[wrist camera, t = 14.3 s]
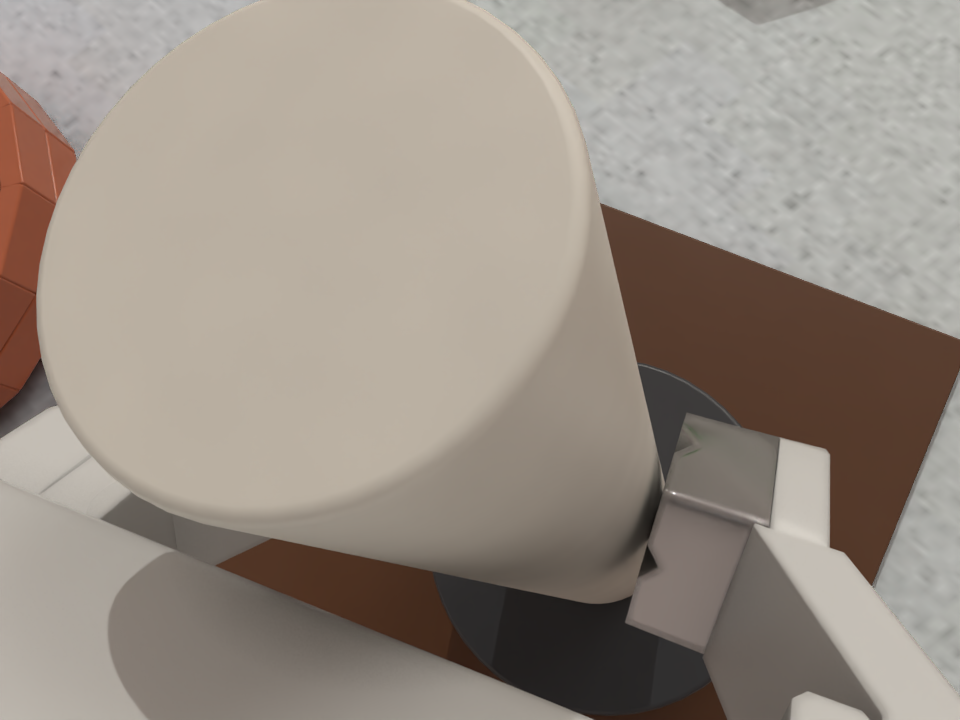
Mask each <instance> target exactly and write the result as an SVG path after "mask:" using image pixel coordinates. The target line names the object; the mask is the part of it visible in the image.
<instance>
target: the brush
mask: <svg viewBox="0 0 960 720" xmlns="http://www.w3.org/2000/svg"><path fill="white" fill-rule="evenodd" d="M36 308H37V332H38V339H39V346H40V352H41V359H42V363H43V366H44V369H45V373H46V376H47V379H48V383H49V386H50V389H51V392H52V394H53V396H54V398H55V400H56V402H57V405H58V407H59V409H60V411H61V413H62V415H63V417H64V419H65V421H66V422H67V424H68V425H69V427H70V428H71V430H72V431H73V433H74V434H75V435H76V437H77V438H78V440H79V441H80V443H81V444H82V446H83V447H84V448H85V449H86V451H87V452H88V453H89V454H90V455H91V456H92V457H93V458H94V459H95V460H96V461H97V463H98V464H99V465H100V466H101V467H102V468H103V469H104V470H105V471H106V472H107V473H108V474H109V475H110V476H111V477H112V478H114V479H115V480H116V481H118V482H119V483H120V484H122V485H123V486H124V487H126V488H127V489H128V490H130V491H131V492H132V493H134V494H135V495H136V496H138V497H139V498H141V499H143V500H145V501H147V502H149V503H151V504H153V505H155V506H157V507H159V508H161V509H163V510H164V511H166V512H168V513H171V514H174V515H177V516H181V517H184V518H187V519H190V520H193V521H196V522H199V523H202V524H206V525H211V526H216V527H221V528H226V529H230V530H235V531H240V532H245V533H250V534H255V535H259V536H264V537H269V538H274V539H279V540H283V541H288V542H293V543H298V544H303V545H308V546H312V547H317V548H322V549H327V550H332V551H336V552H341V553H346V554H351V555H356V556H361V557H365V558H370V559H375V560H380V561H385V562H389V563H394V564H399V565H404V566H409V567H414V568H418V569H423V570H428V571H432V572H433V577H434V581H435V584H436V587H437V590H438V593H439V596H440V599H441V602H442V604H443V606H444V608H445V610H446V613H447V615H448V617H449V619H450V621H451V623H452V624H453V626H454V628H455V629H456V631H457V632H458V634H459V635H460V637H461V638H462V640H463V642H464V643H465V644H466V645H467V647H468V648H469V649H470V650H471V651H472V652H473V654H474V655H475V656H476V657H477V658H478V660H479V661H480V662H482V663H483V664H484V665H485V666H486V667H487V668H488V669H489V670H490V671H491V672H492V673H493V674H495V675H496V676H497V677H498V678H500V679H501V680H503V681H504V682H505V683H507V684H508V685H511V686H513V687H516V688H518V689H520V690H523V691H525V692H528V693H530V694H533V695H535V696H538V697H540V698H543V699H545V700H547V701H550V702H552V703H555V704H557V705H560V706H562V707H565V708H567V709H570V710H572V711H574V712H577V713H580V714H585V715H601V716H617V715H629V714H637V713H642V712H646V711H650V710H655V709H659V708H662V707H664V706H667V705H669V704H672V703H675V702H677V701H680V700H682V699H684V698H686V697H688V696H689V695H691V694H693V693H695V692H697V691H698V690H700V689H702V688H704V687H705V686H706V685H708V684H709V683H710V682H712V680H711V678H710V675H709V673H708V670H707V668H706V665H705V663H704V660H703V658H702V657H703V655H704V654H702V653H699V652H697V651H694V650H692V649H689V648H687V647H684V646H682V645H679V644H677V643H674V642H671V641H669V640H666V639H664V638H661V637H659V636H656V635H654V634H651V633H649V632H646V631H644V630H641V629H639V628H636V627H634V626H631V625H629V624H626V623H625V621H626V617H627V614H628V610H629V606H630V603H631V599H632V596H633V592H634V589H635V585H636V581H637V578H638V574H639V571H640V567H641V564H642V560H643V557H644V553H645V550H646V546H647V543H648V539H649V536H650V533H651V530H652V526H653V523H654V519H655V516H656V512H657V509H658V505H659V502H660V499H661V495H662V492H663V489H664V486H665V482H666V479H667V475H668V471H669V468H670V465H671V462H672V458H673V455H674V452H675V448H676V445H677V442H678V439H679V435H680V432H681V429H682V426H683V422H684V419H685V416H686V413H690V414H694V415H698V416H701V417H705V418H709V419H713V420H716V421H720V422H724V423H728V424H731V425H735V426H739V427H742V426H741V425H740V424H739V423H738V422H737V421H736V419H735V418H734V417H733V416H732V415H731V414H730V413H729V412H728V411H727V410H726V409H725V408H724V407H723V406H722V405H721V404H720V403H718V402H717V401H716V400H715V399H714V398H712V397H711V396H710V395H709V394H708V393H706V392H705V391H703V390H702V389H700V388H699V387H697V386H695V385H694V384H692V383H691V382H689V381H687V380H685V379H683V378H681V377H679V376H677V375H675V374H673V373H671V372H669V371H666V370H663V369H660V368H657V367H654V366H651V365H648V364H644V363H639V362H637V361H636V357H635V352H634V348H633V344H632V340H631V335H630V331H629V327H628V322H627V318H626V314H625V309H624V305H623V301H622V296H621V292H620V288H619V283H618V279H617V275H616V270H615V266H614V262H613V258H612V253H611V249H610V245H609V240H608V236H607V232H606V227H605V223H604V219H603V214H602V210H601V206H600V201H599V197H598V193H597V188H596V184H595V180H594V176H593V171H592V167H591V163H590V158H589V154H588V150H587V145H586V142H585V139H584V136H583V133H582V130H581V127H580V124H579V121H578V118H577V115H576V112H575V110H574V108H573V106H572V104H571V102H570V100H569V98H568V96H567V94H566V92H565V90H564V89H563V87H562V85H561V83H560V81H559V80H558V78H557V77H556V76H555V74H554V73H553V72H552V70H551V69H550V68H549V66H548V65H547V64H546V62H545V61H544V60H543V58H542V57H541V56H540V55H539V54H538V53H537V52H536V51H535V50H534V49H533V48H532V47H531V46H530V45H529V44H528V43H527V42H526V41H525V40H524V39H523V38H522V37H521V36H520V35H519V34H518V33H516V32H515V31H514V30H513V29H511V28H510V27H509V26H507V25H506V24H504V23H503V22H501V21H500V20H499V19H497V18H496V17H494V16H493V15H491V14H490V13H489V12H487V11H486V10H484V9H482V8H480V7H478V6H476V5H474V4H472V3H470V2H468V1H466V0H260V1H258V2H256V3H253V4H251V5H248V6H246V7H243V8H241V9H239V10H237V11H235V12H233V13H231V14H229V15H227V16H225V17H223V18H221V19H220V20H218V21H216V22H214V23H212V24H210V25H208V26H207V27H205V28H204V29H202V30H201V31H199V32H198V33H196V34H195V35H193V36H192V37H190V38H189V39H187V40H185V41H184V42H182V43H181V44H180V45H178V46H177V47H176V48H175V49H173V50H172V51H171V52H170V53H168V54H167V55H166V56H165V57H163V58H162V59H161V60H160V61H158V62H157V63H156V64H155V65H154V66H152V67H151V68H150V69H149V70H148V71H147V72H146V73H145V74H144V75H143V76H142V77H141V78H140V79H139V80H138V81H137V82H136V83H135V84H134V85H133V86H132V87H130V89H129V90H128V91H127V92H126V93H125V94H124V96H123V97H122V98H121V99H120V100H119V101H118V102H117V104H116V105H115V106H114V107H113V108H112V109H111V110H110V112H109V113H108V114H107V115H106V117H105V118H104V120H103V121H102V122H101V124H100V125H99V127H98V128H97V129H96V131H95V132H94V133H93V135H92V136H91V138H90V139H89V140H88V142H87V144H86V146H85V147H84V149H83V151H82V152H81V154H80V156H79V158H78V159H77V161H76V163H75V164H74V166H73V168H72V170H71V172H70V174H69V176H68V178H67V180H66V183H65V185H64V187H63V189H62V191H61V193H60V196H59V198H58V200H57V203H56V206H55V209H54V212H53V215H52V218H51V221H50V223H49V226H48V229H47V233H46V237H45V242H44V246H43V251H42V255H41V260H40V265H39V275H38V284H37V294H36Z"/></svg>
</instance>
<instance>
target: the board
mask: <svg viewBox="0 0 960 720" xmlns="http://www.w3.org/2000/svg"><path fill="white" fill-rule="evenodd" d="M600 206H601V210H602V214H603V219H604V223H605V227H606V232H607V236H608V240H609V245H610V249H611V253H612V258H613V262H614V266H615V270H616V275H617V279H618V283H619V288H620V292H621V296H622V301H623V305H624V309H625V314H626V318H627V322H628V327H629V331H630V335H631V340H632V344H633V348H634V352H635V357H636V361H637V362H639V363H644V364H648V365H651V366H654V367H657V368H660V369H663V370H666V371H669V372H671V373H673V374H675V375H677V376H679V377H681V378H683V379H685V380H687V381H689V382H691V383H692V384H694V385H695V386H697V387H699V388H700V389H702V390H703V391H705V392H706V393H708V394H709V395H710V396H711V397H712V398H714V399H715V400H716V401H717V402H718V403H720V404H721V405H722V406H723V407H724V408H725V409H726V410H727V411H728V412H729V413H730V414H731V415H732V416H733V417H734V418H735V419H736V421H737V422H738V423H739V424H740V425H741V426H742V427H743V428H746V429H750V430H754V431H758V432H761V433H765V434H769V435H773V436H776V437H781V438H785V439H789V440H793V441H797V442H801V443H805V444H809V445H812V446H816V447H820V448H824V449H826V450H827V451H828V452H829V454H830V548H832V549H835V550H838V551H841V552H844V553H845V554H846V555H847V556H848V558H849V559H850V560H851V561H852V563H853V564H854V565H855V566H856V568H857V569H858V570H859V571H860V573H861V574H862V575H863V576H864V578H865V579H866V580H867V581H868V582H869V584H870V585H871V586H872V584H873V581H874V579H875V577H876V574H877V572H878V569H879V567H880V564H881V562H882V559H883V557H884V554H885V552H886V549H887V547H888V545H889V542H890V540H891V537H892V535H893V532H894V530H895V527H896V525H897V522H898V520H899V517H900V515H901V513H902V510H903V508H904V505H905V503H906V500H907V498H908V495H909V493H910V490H911V488H912V485H913V483H914V481H915V478H916V476H917V473H918V471H919V468H920V466H921V463H922V461H923V458H924V456H925V453H926V451H927V448H928V446H929V444H930V441H931V439H932V436H933V434H934V431H935V429H936V426H937V424H938V421H939V419H940V416H941V414H942V412H943V409H944V407H945V404H946V402H947V399H948V397H949V394H950V392H951V389H952V387H953V384H954V382H955V380H956V377H957V375H958V372H959V370H960V339H957V338H955V337H952V336H949V335H947V334H944V333H942V332H939V331H936V330H934V329H931V328H928V327H926V326H923V325H920V324H918V323H915V322H913V321H910V320H907V319H905V318H902V317H899V316H897V315H894V314H891V313H889V312H886V311H884V310H881V309H878V308H876V307H873V306H870V305H868V304H865V303H862V302H860V301H857V300H854V299H852V298H849V297H847V296H844V295H841V294H839V293H836V292H833V291H831V290H828V289H825V288H823V287H820V286H818V285H815V284H812V283H810V282H807V281H804V280H802V279H799V278H796V277H794V276H791V275H789V274H786V273H783V272H781V271H778V270H775V269H773V268H770V267H767V266H765V265H762V264H760V263H757V262H754V261H752V260H749V259H746V258H744V257H741V256H738V255H736V254H733V253H730V252H728V251H725V250H723V249H720V248H717V247H715V246H712V245H709V244H707V243H704V242H701V241H699V240H696V239H694V238H691V237H688V236H686V235H683V234H680V233H678V232H675V231H672V230H670V229H667V228H665V227H662V226H659V225H657V224H654V223H651V222H649V221H646V220H643V219H641V218H638V217H636V216H633V215H630V214H628V213H625V212H622V211H620V210H617V209H614V208H612V207H609V206H606V205H604V204H601V203H600ZM215 566H217V567H219V568H222V569H224V570H226V571H229V572H231V573H234V574H236V575H239V576H241V577H244V578H246V579H249V580H251V581H254V582H256V583H259V584H261V585H264V586H266V587H268V588H271V589H273V590H276V591H278V592H281V593H283V594H286V595H288V596H291V597H293V598H296V599H298V600H301V601H303V602H306V603H308V604H311V605H313V606H315V607H318V608H320V609H323V610H325V611H328V612H330V613H333V614H335V615H338V616H340V617H343V618H345V619H348V620H350V621H353V622H355V623H358V624H360V625H362V626H365V627H367V628H370V629H372V630H375V631H377V632H380V633H382V634H385V635H387V636H390V637H392V638H395V639H397V640H400V641H402V642H405V643H407V644H409V645H412V646H414V647H417V648H419V649H422V650H424V651H427V652H429V653H432V654H434V655H437V656H439V657H442V658H444V659H447V660H449V661H452V662H454V663H456V664H459V665H461V666H464V667H466V668H469V669H471V670H474V671H476V672H479V673H481V674H484V675H486V676H489V677H491V678H494V679H496V680H498V681H501V682H503V683H505V682H504V681H503V680H501V679H500V678H498V677H497V676H496V675H495V674H493V673H492V672H491V671H490V670H489V669H488V668H487V667H486V666H485V665H484V664H483V663H482V662H480V661H479V660H478V658H477V657H476V656H475V655H474V654H473V652H472V651H471V650H470V649H469V648H468V647H467V645H466V644H465V643H464V642H463V640H462V638H461V637H460V635H459V634H458V632H457V631H456V629H455V628H454V626H453V624H452V623H451V621H450V619H449V617H448V615H447V613H446V610H445V608H444V606H443V604H442V602H441V599H440V596H439V593H438V590H437V587H436V584H435V581H434V577H433V572H432V571H428V570H423V569H418V568H414V567H409V566H404V565H399V564H394V563H389V562H385V561H380V560H375V559H370V558H365V557H361V556H356V555H351V554H346V553H341V552H336V551H332V550H327V549H322V548H317V547H312V546H308V545H303V544H298V543H293V542H288V541H283V540H279V539H274V538H271V539H269V540H267V541H265V542H263V543H261V544H259V545H257V546H255V547H253V548H251V549H248V550H246V551H244V552H242V553H240V554H238V555H236V556H234V557H232V558H230V559H228V560H226V561H223V562H221V563H219V564H217V565H215ZM506 684H507V683H506ZM579 714H580V713H579ZM582 715H584V716H587V717H589V718H592V719H594V720H727V718H726V715H725V713H724V710H723V708H722V705H721V703H720V700H719V698H718V695H717V693H716V690H715V688H714V685H713V683H712V682H710V683H709V684H708V685H706V686H705V687H704V688H702V689H700V690H698V691H697V692H695V693H693V694H691V695H689V696H688V697H686V698H684V699H682V700H680V701H677V702H675V703H672V704H669V705H667V706H664V707H662V708H659V709H655V710H650V711H646V712H642V713H637V714H629V715H617V716H601V715H585V714H582Z"/></svg>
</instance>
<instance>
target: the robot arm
mask: <svg viewBox="0 0 960 720" xmlns="http://www.w3.org/2000/svg"><path fill="white" fill-rule="evenodd" d="M269 539H271V538H269V537H264V536H259V535H255V534H250V533H245V532H240V531H235V530H230V529H226V528H221V527H216V526H211V525H206V524H202V523H199V522H196V521H193V520H190V519H187V518H184V517H181V516H177V515H174V514H171V513H168V512H166V511H164V510H163V509H161V508H159V507H157V506H155V505H153V504H151V503H149V502H147V501H145V500H143V499H141V498H139V497H138V496H136V495H135V494H134V493H132V492H131V491H130V490H128V489H127V488H126V487H124V486H123V485H122V484H120V483H119V482H118V481H116V480H115V479H114V478H112V477H111V476H110V475H109V474H108V473H107V472H106V471H105V470H104V469H103V468H102V467H101V466H100V465H99V464H98V463H97V461H96V460H95V459H94V458H93V457H92V456H91V455H90V454H89V453H88V452H87V451H86V449H85V448H84V447H83V446H82V444H81V443H80V441H79V440H78V438H77V437H76V435H75V434H74V433H73V431H72V430H71V428H70V427H69V425H68V424H67V422H66V421H65V419H64V417H63V415H62V413H61V411H60V409H59V407H58V406H54V407H49V408H47V409H46V410H44V411H43V412H41V413H40V414H38V415H36V416H35V417H33V418H32V419H30V420H29V421H27V422H25V423H24V424H22V425H21V426H19V427H18V428H16V429H15V430H13V431H11V432H10V433H8V434H7V435H5V436H4V437H2V438H0V720H594V719H592V718H589V717H587V716H584V715H582V714H579V713H577V712H574V711H572V710H570V709H567V708H565V707H562V706H560V705H557V704H555V703H552V702H550V701H547V700H545V699H543V698H540V697H538V696H535V695H533V694H530V693H528V692H525V691H523V690H520V689H518V688H516V687H513V686H511V685H508V684H506V683H503V682H501V681H498V680H496V679H494V678H491V677H489V676H486V675H484V674H481V673H479V672H476V671H474V670H471V669H469V668H466V667H464V666H461V665H459V664H456V663H454V662H452V661H449V660H447V659H444V658H442V657H439V656H437V655H434V654H432V653H429V652H427V651H424V650H422V649H419V648H417V647H414V646H412V645H409V644H407V643H405V642H402V641H400V640H397V639H395V638H392V637H390V636H387V635H385V634H382V633H380V632H377V631H375V630H372V629H370V628H367V627H365V626H362V625H360V624H358V623H355V622H353V621H350V620H348V619H345V618H343V617H340V616H338V615H335V614H333V613H330V612H328V611H325V610H323V609H320V608H318V607H315V606H313V605H311V604H308V603H306V602H303V601H301V600H298V599H296V598H293V597H291V596H288V595H286V594H283V593H281V592H278V591H276V590H273V589H271V588H268V587H266V586H264V585H261V584H259V583H256V582H254V581H251V580H249V579H246V578H244V577H241V576H239V575H236V574H234V573H231V572H229V571H226V570H224V569H222V568H219V567H217V566H215V565H217V564H219V563H221V562H223V561H226V560H228V559H230V558H232V557H234V556H236V555H238V554H240V553H242V552H244V551H246V550H248V549H251V548H253V547H255V546H257V545H259V544H261V543H263V542H265V541H267V540H269ZM625 623H626V624H629V625H631V626H634V627H636V628H639V629H641V630H644V631H646V632H649V633H651V634H654V635H656V636H659V637H661V638H664V639H666V640H669V641H671V642H674V643H677V644H679V645H682V646H684V647H687V648H689V649H692V650H694V651H697V652H699V653H702V654H704V655H703V657H702V658H703V660H704V663H705V665H706V668H707V670H708V673H709V675H710V678H711V680H712V683H713V685H714V688H715V690H716V693H717V695H718V698H719V700H720V703H721V705H722V708H723V710H724V713H725V715H726V718H727V720H960V695H959V694H958V693H957V691H956V690H955V689H954V688H953V686H952V685H951V684H950V683H949V682H948V680H947V679H946V678H945V677H944V675H943V674H942V673H941V672H940V670H939V669H938V668H937V667H936V665H935V664H934V663H933V662H932V660H931V659H930V658H929V657H928V656H927V654H926V653H925V652H924V651H923V649H922V648H921V647H920V646H919V644H918V643H917V642H916V641H915V639H914V638H913V637H912V636H911V634H910V633H909V632H908V631H907V630H906V628H905V627H904V626H903V625H902V623H901V622H900V621H899V620H898V618H897V617H896V616H895V615H894V613H893V612H892V611H891V610H890V608H889V607H888V606H887V605H886V604H885V602H884V601H883V600H882V599H881V597H880V596H879V595H878V594H877V592H876V591H875V590H874V589H873V587H872V586H871V585H870V584H869V582H868V581H867V580H866V579H865V578H864V576H863V575H862V574H861V573H860V571H859V570H858V569H857V568H856V566H855V565H854V564H853V563H852V561H851V560H850V559H849V558H848V556H847V555H846V554H845V553H844V552H841V551H838V550H835V549H832V548H830V454H829V452H828V451H827V450H826V449H824V448H820V447H816V446H812V445H809V444H805V443H801V442H797V441H793V440H789V439H785V438H781V437H776V436H773V435H769V434H765V433H761V432H758V431H754V430H750V429H746V428H743V427H739V426H735V425H731V424H728V423H724V422H720V421H716V420H713V419H709V418H705V417H701V416H698V415H694V414H690V413H686V416H685V419H684V422H683V426H682V429H681V432H680V435H679V439H678V442H677V445H676V448H675V452H674V455H673V458H672V462H671V465H670V468H669V471H668V475H667V479H666V482H665V486H664V489H663V492H662V495H661V499H660V502H659V505H658V509H657V512H656V516H655V519H654V523H653V526H652V530H651V533H650V536H649V539H648V543H647V546H646V550H645V553H644V557H643V560H642V564H641V567H640V571H639V574H638V578H637V581H636V585H635V589H634V592H633V596H632V599H631V603H630V606H629V610H628V614H627V617H626V621H625Z"/></svg>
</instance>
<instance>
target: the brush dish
mask: <svg viewBox="0 0 960 720" xmlns="http://www.w3.org/2000/svg"><path fill="white" fill-rule="evenodd" d="M76 161H77V160H76V155H75V151H74V149H73V148H72V147H71V145H70V144H69V143H68V141H67V140H66V139H65V137H64V136H63V135H62V134H61V132H60V131H59V130H58V128H57V127H56V126H55V124H54V123H53V122H52V120H51V119H50V118H49V116H48V115H47V114H46V113H45V111H44V110H43V109H42V107H41V106H40V105H39V103H38V102H37V101H36V100H35V99H34V98H32V97H31V96H30V95H29V94H28V93H26V92H25V91H24V90H23V89H21V88H20V87H19V86H18V85H16V84H15V83H14V82H13V81H11V80H10V79H9V78H8V77H6V76H5V75H4V74H2V73H1V72H0V408H1V407H3V406H4V405H5V404H6V403H7V402H9V401H10V400H11V399H12V398H13V397H14V396H16V395H17V394H18V393H19V392H20V390H21V389H22V388H23V386H24V384H25V383H26V381H27V380H28V378H29V376H30V375H31V373H32V371H33V370H34V368H35V366H36V365H37V363H38V362H39V360H40V358H41V352H40V346H39V339H38V332H37V308H36V294H37V284H38V275H39V265H40V260H41V255H42V251H43V246H44V242H45V237H46V233H47V229H48V226H49V223H50V221H51V218H52V215H53V212H54V209H55V206H56V203H57V200H58V198H59V196H60V193H61V191H62V189H63V187H64V185H65V183H66V180H67V178H68V176H69V174H70V172H71V170H72V168H73V166H74V164H75V163H76Z"/></svg>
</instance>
